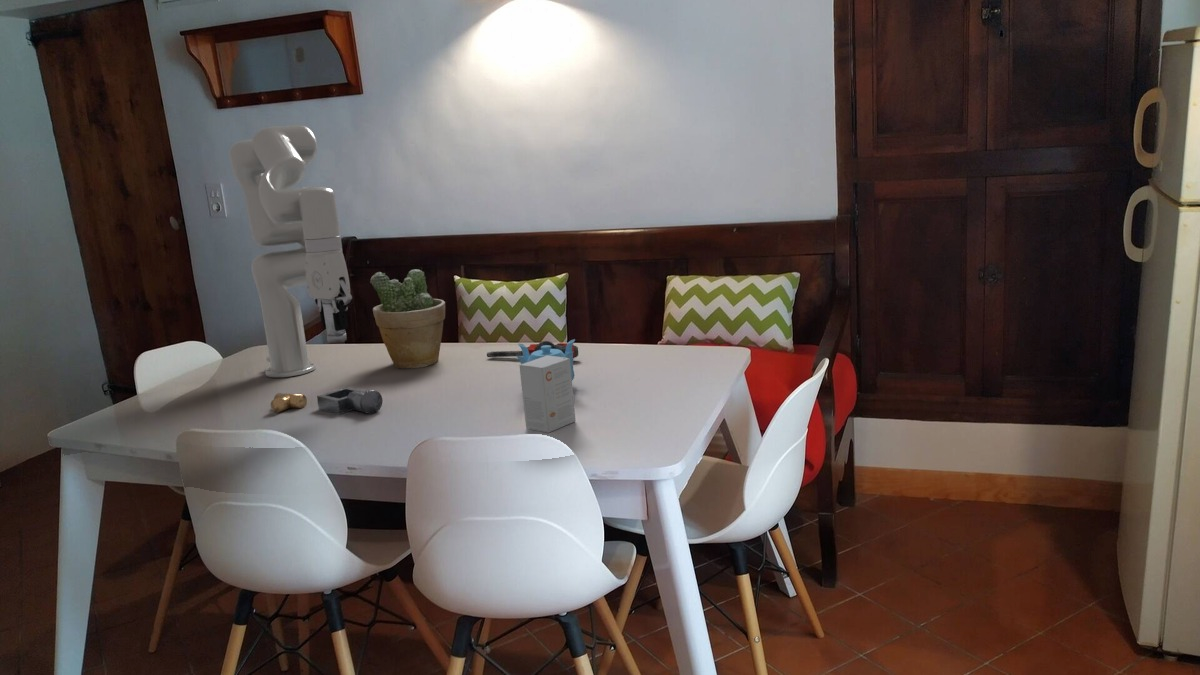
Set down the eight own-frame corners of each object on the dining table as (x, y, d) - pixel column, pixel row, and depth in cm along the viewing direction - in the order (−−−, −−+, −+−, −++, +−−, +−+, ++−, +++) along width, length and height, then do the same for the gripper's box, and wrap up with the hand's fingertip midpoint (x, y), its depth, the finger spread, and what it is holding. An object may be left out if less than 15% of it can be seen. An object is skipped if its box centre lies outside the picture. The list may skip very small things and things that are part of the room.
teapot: (519, 400, 203) (514, 355, 200) (522, 384, 215) (518, 341, 213) (578, 395, 203) (574, 350, 200) (578, 379, 215) (574, 336, 213)
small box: (553, 417, 188) (547, 354, 185) (576, 421, 184) (571, 357, 181) (524, 428, 182) (518, 364, 180) (548, 433, 178) (542, 367, 175)
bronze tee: (307, 405, 211) (305, 393, 211) (288, 413, 206) (286, 400, 205) (284, 404, 214) (282, 391, 214) (265, 411, 209) (262, 399, 208)
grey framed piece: (318, 409, 208) (315, 387, 207) (349, 399, 214) (346, 378, 212) (358, 418, 198) (355, 395, 197) (389, 408, 204) (386, 386, 203)
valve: (595, 360, 241) (569, 366, 227) (509, 361, 252) (479, 368, 239) (594, 335, 241) (567, 340, 227) (507, 338, 252) (477, 343, 238)
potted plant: (418, 352, 257) (407, 262, 251) (467, 357, 246) (456, 263, 240) (365, 368, 242) (353, 273, 237) (415, 375, 231) (403, 275, 226)
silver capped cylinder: (323, 341, 206) (317, 297, 204) (339, 337, 209) (333, 293, 207) (334, 343, 203) (328, 298, 201) (351, 339, 206) (344, 294, 204)
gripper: (286, 248, 204) (299, 329, 208) (331, 249, 193) (343, 335, 197) (316, 243, 210) (328, 323, 213) (361, 244, 199) (372, 328, 203)
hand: (335, 328), depth 205 cm, fingers closed on silver capped cylinder, 4 cm apart
